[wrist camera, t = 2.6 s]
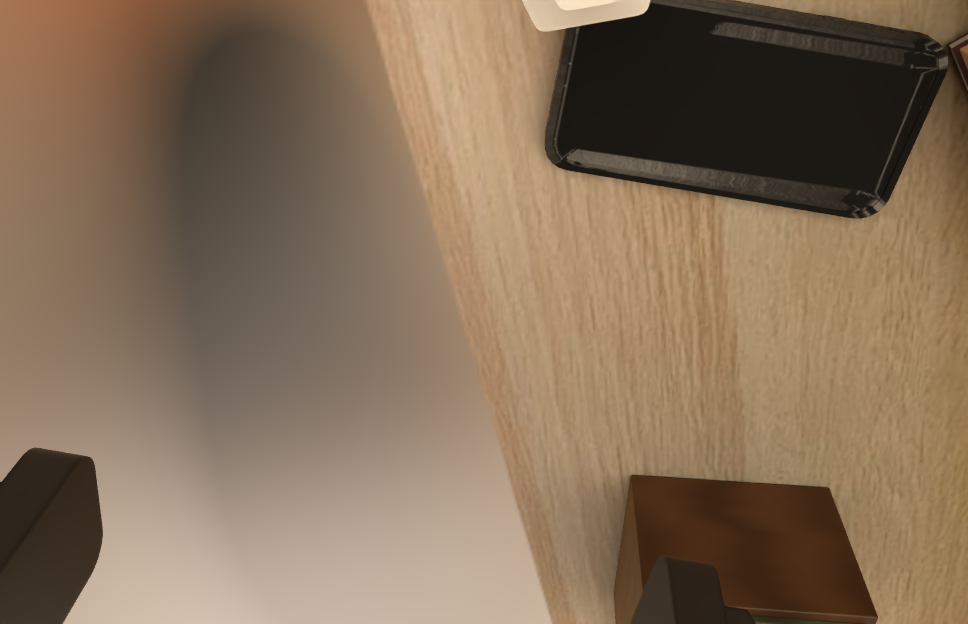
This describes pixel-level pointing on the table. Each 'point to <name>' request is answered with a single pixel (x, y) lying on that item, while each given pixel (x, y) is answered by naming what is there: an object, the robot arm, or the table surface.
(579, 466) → the table surface
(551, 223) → the table surface
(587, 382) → the table surface
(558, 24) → the cream faceted bottle shape
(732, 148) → the phone
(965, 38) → the book
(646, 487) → the stand
